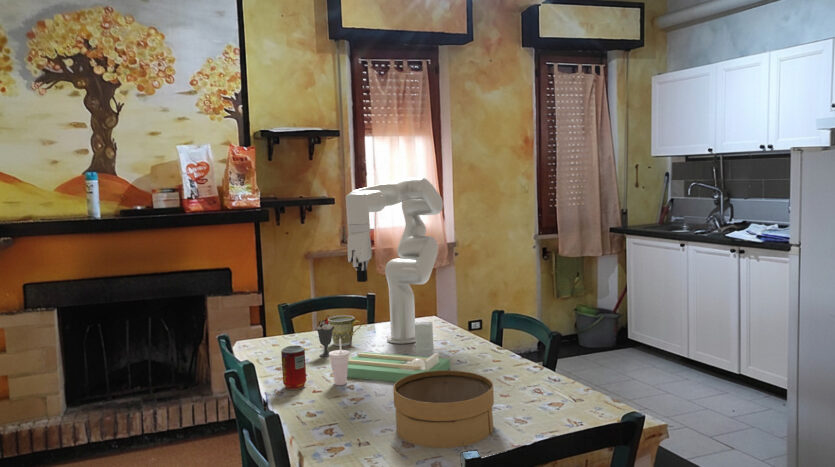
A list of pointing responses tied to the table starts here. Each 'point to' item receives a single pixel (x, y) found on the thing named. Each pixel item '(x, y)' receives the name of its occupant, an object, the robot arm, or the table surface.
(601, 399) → the table surface
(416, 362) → the ball
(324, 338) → the sundae
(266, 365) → the table surface
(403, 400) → the steamer basket
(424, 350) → the skincare box
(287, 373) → the soda can
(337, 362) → the smoothie
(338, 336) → the ceramic cup
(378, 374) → the green
